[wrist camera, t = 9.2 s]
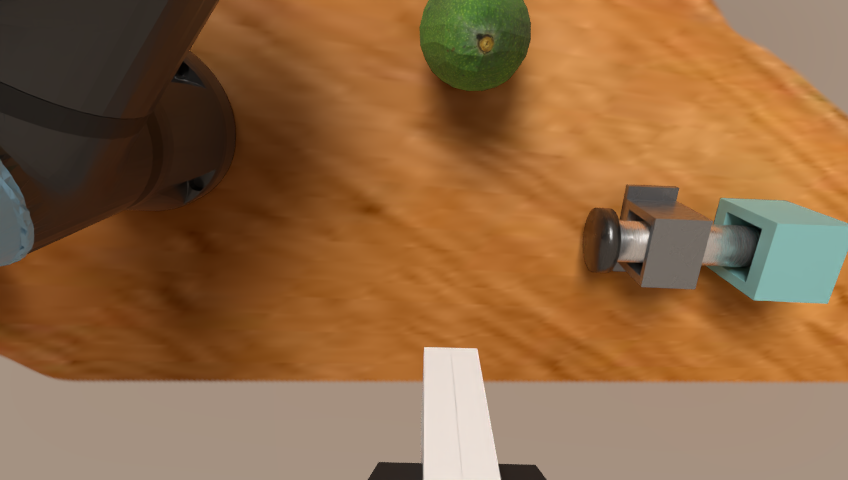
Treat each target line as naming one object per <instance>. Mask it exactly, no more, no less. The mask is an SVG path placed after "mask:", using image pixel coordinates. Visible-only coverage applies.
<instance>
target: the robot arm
mask: <svg viewBox="0 0 848 480" xmlns="http://www.w3.org/2000/svg"><path fill="white" fill-rule="evenodd" d="M218 1H219V0H0V266H4V265H10V264H12V263H14V262H17V261H20V260H21V259H22V258H25V257H26V255H27V254H29V253H31V252H33V251H35V250H38V249H40V248H42V247H44V246H46V245H49V244H51V243H53V242H55V241H57V240H60V239H62V238H64V237H66V236H68V235H71V234H73V233H75V232H77V231H79V230H82V229H84V228H86V227H88V226H90V225H93V224H95V223H97V222H99V221H101V220H104V219H106V218H108V217H110V216H112V215H115V214H117V213H119V212H121V211H123V210H139V211H163V210H170V209H174V208H178V207H181V206H184V205H187V204H189V203H191V202H193V201H195V200H197V199H198V198H200V197H202V196H204V195H206V194H207V193H209V192H210V191H211V190H212V189H213V188H215V187H216V186H217V185H218V183H219V182H220V181H221V180H222V179H223V177H224V176H225V174H226V172H227V170H228V168H229V166H230V164H231V161H232V158H233V154H234V149H235V136H236V133H235V123H234V117H233V113H232V109H231V106H230V103H229V101H228V98H227V96H226V94H225V92H224V90H223V88H222V86H221V85H220V83H219V81H218V80H217V79H216V77H215V76H214V74H213V73H212V72H211V71H210V69H209V68H208V67H207V66H206V65H205V64H204V63H203V62H202V61H201V60H200V59H199V58H198V57H196V56H195V55H194V54H193V53H192V52H190V51H189V50H190V48H191V47H192V45H193V43H194V42H195V40H196V38H197V37H198V35H199V33H200V32H201V30H202V28H203V27H204V25H205V23H206V22H207V20H208V18H209V17H210V15H211V13H212V11H213V10H214V8H215V6H216V5H217V3H218ZM368 480H546V478H545V477H544V476H543V474H542V473H541V472H540V470H539V469H538V468H537V466H536V465H517V464H515V465H514V464H498V461H497V456H496V451H495V445H494V440H493V433H492V428H491V422H490V417H489V412H488V406H487V400H486V395H485V389H484V384H483V378H482V373H481V367H480V362H479V356H478V351H477V349H473V348H438V347H424V365H423V394H422V419H421V463H389V462H379V463H378V464H377V466H376V467H375V469H374V471H373V472H372V474H371V475H370V477H369V479H368Z"/></svg>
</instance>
